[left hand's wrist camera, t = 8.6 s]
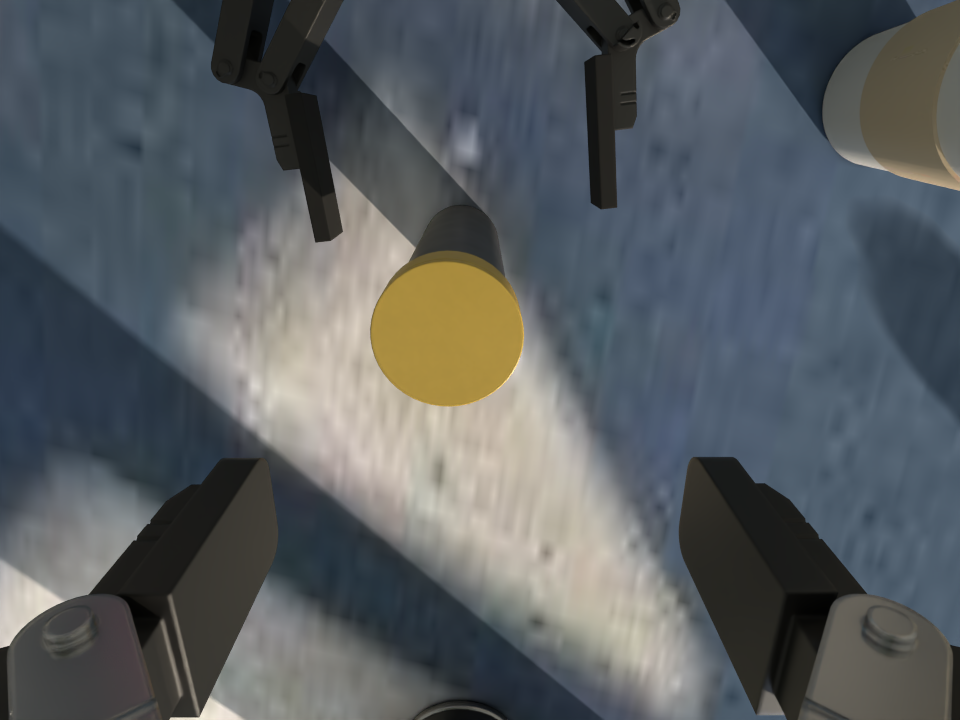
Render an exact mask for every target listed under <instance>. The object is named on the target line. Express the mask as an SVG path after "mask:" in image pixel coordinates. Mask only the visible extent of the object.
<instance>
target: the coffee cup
mask: <svg viewBox="0 0 960 720" xmlns="http://www.w3.org/2000/svg"><path fill="white" fill-rule="evenodd" d="M822 116H823V125H824V129H825V133H826V135H827V138H828V140H829V142H830V143H831V145H832V146H833V148H834V149H835V150H836V151H837V152H838V153H839V154H840V155H841V156H842V157H844V158H845V159H847V160H849V161H851V162H853V163H856V164H860V165H864V166H869V167H873V168H877V169H882V170H886V171H890V172H892V173H894V174H896V175H898V176H901V177H905V178H909V179H913V180H917V181H922V182H926V183H930V184H934V185H938V186H943V187H947V188H951V189H955V190H959V191H960V0H957V1H954V2H951V3H949V4H946V5H943V6H941V7H938V8H935V9H933V10H930V11H928V12H926V13H924V14H922V15H920V16H918V17H916V18H915V19H913V20H912V21H910V22H908V23H905V24H903V25H900V26H897V27H894V28H892V29H889V30H886V31H883V32H881V33H878V34H875V35H873V36H871V37H869V38H867V39H865V40H864V41H862V42H861V43H859V44H858V45H857V46H855V47H854V48H853V49H852V50H851V51H850V52H849V53H848V54H847V55H846V56H845V57H844V58H843V59H842V61H841V62H840V63H839V65H838V66H837V67H836V69H835V71H834V72H833V74H832V76H831V78H830V80H829V83H828V85H827V88H826V91H825V95H824V100H823V110H822Z"/></svg>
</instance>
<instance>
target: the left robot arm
mask: <svg viewBox="0 0 960 720" xmlns="http://www.w3.org/2000/svg"><path fill="white" fill-rule="evenodd" d="M679 542H680V549H681V553H682V556H683V559H684V562H685V564H686V566H687V568H688V570H689V572H690V574H691V576H692V579H693V581H694V583H695V585H696V587H697V589H698V591H699V594H700V596H701V598H702V600H703V602H704V604H705V606H706V609H707V611H708V613H709V615H710V617H711V619H712V621H713V624H714V626H715V628H716V630H717V632H718V634H719V636H720V638H721V641H722V643H723V645H724V647H725V649H726V651H727V653H728V656H729V658H730V660H731V662H732V664H733V666H734V668H735V671H736V673H737V675H738V677H739V679H740V681H741V683H742V685H743V688H744V690H745V692H746V694H747V696H748V698H749V700H750V703H751V705H752V707H753V709H754V711H755V713H756V715H785V716H786V718H787V720H960V647H956V646H952V645H950V644H949V642H948V641H947V639H946V638H945V636H944V635H943V634H942V633H941V632H940V630H939V629H938V628H937V627H935V626H934V625H933V624H932V623H931V622H930V621H929V620H927V619H926V618H925V617H923V616H922V615H920V614H919V613H917V612H915V611H914V610H912V609H910V608H908V607H906V606H904V605H902V604H900V603H897V602H895V601H892V600H889V599H886V598H883V597H879V596H875V595H869V594H867V593H866V592H865V591H864V589H863V588H862V587H861V586H860V585H859V583H858V582H857V581H856V580H855V579H854V577H853V576H852V575H851V574H850V572H849V571H848V570H847V569H846V568H845V566H844V565H843V564H842V563H841V562H840V560H839V559H838V558H837V557H836V555H835V554H834V553H833V552H832V551H831V549H830V548H829V547H828V546H827V545H826V543H825V542H824V541H823V540H822V539H819V537H818V534H817V532H816V531H815V530H814V529H813V528H812V526H811V525H810V524H809V523H806V522H805V518H804V517H803V515H802V514H801V513H800V512H799V511H798V509H797V508H796V507H795V506H794V505H793V503H792V502H791V501H790V500H789V499H788V498H786V497H785V496H783V495H782V494H780V493H779V492H777V491H776V490H774V489H773V488H771V487H769V486H768V485H766V484H765V483H755V482H754V481H753V480H752V478H751V477H750V476H749V475H748V473H747V472H746V471H745V469H744V468H743V467H742V465H741V464H740V463H739V461H738V460H737V459H736V458H734V457H693V458H692V459H691V460H690V462H689V464H688V469H687V475H686V482H685V489H684V495H683V502H682V509H681V516H680V523H679ZM277 543H278V524H277V517H276V511H275V504H274V497H273V490H272V484H271V477H270V471H269V466H268V463H267V461H266V460H265V459H264V458H223V459H221V460H220V461H219V462H218V463H217V464H216V466H215V467H214V468H213V470H212V471H211V472H210V473H209V475H208V476H207V477H206V479H205V480H204V481H203V483H202V484H201V485H190V486H189V487H187V488H186V489H184V490H183V491H181V492H180V493H178V494H176V495H175V496H173V497H172V498H170V499H169V500H167V501H166V502H165V504H164V505H163V506H162V507H161V508H160V510H159V511H158V512H157V513H156V514H155V516H154V517H153V518H152V519H151V523H150V524H147V525H146V526H145V528H144V529H143V530H142V531H141V532H140V534H139V535H138V536H137V541H133V542H132V543H131V544H130V546H129V547H128V548H127V549H126V550H125V552H124V553H123V554H122V555H121V556H120V558H119V559H118V560H117V561H116V562H115V564H114V565H113V566H112V567H111V568H110V570H109V571H108V572H107V573H106V574H105V576H104V577H103V578H102V579H101V580H100V582H99V583H98V584H97V585H96V586H95V588H94V589H93V590H92V591H91V592H90V594H89V595H85V596H81V597H77V598H74V599H71V600H68V601H65V602H63V603H60V604H58V605H56V606H54V607H52V608H50V609H48V610H46V611H45V612H43V613H41V614H40V615H38V616H37V617H35V618H34V619H33V620H31V621H30V622H29V623H28V624H27V625H26V626H25V627H23V628H22V629H21V630H20V632H19V633H18V634H17V635H16V636H15V638H14V639H13V641H12V642H11V644H10V646H7V647H3V648H0V720H169V719H170V717H200V715H201V712H202V710H203V708H204V706H205V704H206V702H207V700H208V698H209V696H210V693H211V691H212V689H213V687H214V685H215V683H216V681H217V679H218V677H219V674H220V672H221V670H222V668H223V666H224V664H225V662H226V660H227V658H228V655H229V653H230V651H231V649H232V647H233V645H234V643H235V641H236V639H237V636H238V634H239V632H240V630H241V628H242V626H243V624H244V622H245V620H246V617H247V615H248V613H249V611H250V609H251V607H252V605H253V603H254V601H255V598H256V596H257V594H258V592H259V590H260V588H261V586H262V584H263V582H264V579H265V577H266V575H267V573H268V571H269V569H270V567H271V565H272V563H273V560H274V557H275V554H276V550H277ZM413 720H508V719H507V718H506V717H505V716H504V715H502V714H501V713H500V712H498V711H497V710H495V709H493V708H491V707H489V706H486V705H483V704H480V703H475V702H469V701H452V702H445V703H441V704H438V705H435V706H432V707H430V708H428V709H426V710H424V711H423V712H421V713H420V714H419V715H417V716H416V717H415V718H414V719H413Z"/></svg>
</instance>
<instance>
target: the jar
mask: <svg viewBox="0 0 960 720" xmlns="http://www.w3.org/2000/svg"><path fill="white" fill-rule="evenodd" d="M437 251H459V252H464V253H468V254H471V255H475V256H477V257H479V258H481V259H483V260H485V261H487V262H488V263H490V264H491V265H493V266H494V267H495V268H496V269H497V270H499V271H500V272H501V273H502V275H503V276H504V277H505V273H504V268H503V262H502V257H501V251H500V246H499V241H498V235H497V231H496V229H495V226H494V224H493V223H492V221H491V220H490V219H489V218H488V216H487V215H485V214H484V213H483V212H482V211H480V210H478V209H476V208H474V207H471V206H466V205H456V206H451V207H448V208H446V209H444V210H442V211H440V212H439V213H438V214H436V215H435V216H434V217H433V219H432V220H431V221H430V223H429V225H428V226H427V228H426V230H425V232H424V234H423V236H422V238H421V240H420V242H419V244H418V245H417V247H416V249H415V251H414V253H413V255H412V257H411V259H410V261H412V260H414V259H415V258H417V257H419V256H422V255H425V254H428V253H432V252H437ZM410 261H409V262H410Z"/></svg>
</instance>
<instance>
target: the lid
mask: <svg viewBox="0 0 960 720" xmlns="http://www.w3.org/2000/svg"><path fill="white" fill-rule="evenodd" d="M370 335H371V344H372V349H373V352H374V356H375V358H376V361H377V363H378V365H379V367H380V368H381V370H382V372H383V373H384V374H385V376H386V377H387V378H388V379H389V381H390V382H391V383H392V384H393V385H395V386H396V387H397V388H398V389H399V390H401V391H402V392H403V393H405V394H406V395H408V396H410V397H412V398H414V399H416V400H418V401H421V402H424V403H427V404H431V405H437V406H460V405H465V404H470V403H473V402H476V401H478V400H481V399H483V398H485V397H487V396H488V395H490V394H492V393H493V392H495V391H496V390H497V389H498V388H500V387H501V386H502V385H503V384H504V383H505V382H506V381H507V380H508V378H509V377H510V375H511V374H512V373H513V371H514V369H515V368H516V366H517V364H518V361H519V359H520V356H521V352H522V348H523V340H524V329H523V322H522V317H521V313H520V308H519V304H518V301H517V298H516V295H515V293H514V291H513V289H512V287H511V285H510V284H509V282H508V281H507V279H506V278H505V277H504V276H503V275H502V273H501V272H500V271H499V270H497V269H496V268H495V267H494V266H493V265H491V264H490V263H488V262H487V261H485V260H483V259H481V258H479V257H477V256H475V255H471V254H468V253H464V252H459V251H437V252H432V253H428V254H425V255H422V256H419V257H417V258H415V259H414V260H412V261H410V262H409V263H407V264H406V265H404V266H403V267H402V268H401V269H400V270H399V271H397V272H396V274H395V275H394V276H393V277H392V278H391V280H390V281H389V283H388V285H387V286H386V288H385V290H384V291H383V293H382V295H381V296H380V298H379V300H378V302H377V304H376V306H375V309H374V312H373V316H372V320H371V328H370Z"/></svg>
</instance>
